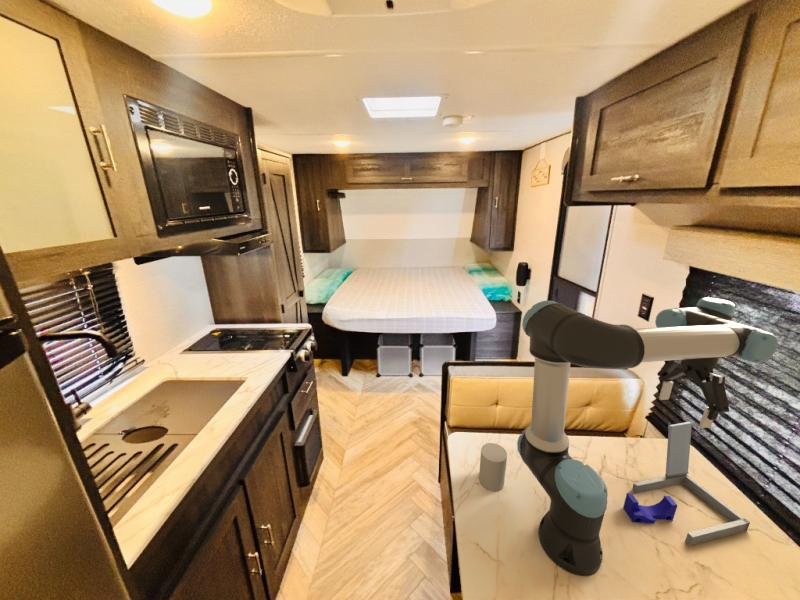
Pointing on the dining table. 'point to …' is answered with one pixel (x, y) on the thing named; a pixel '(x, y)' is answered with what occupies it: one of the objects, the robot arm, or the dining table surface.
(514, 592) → the dining table surface
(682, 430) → the cover
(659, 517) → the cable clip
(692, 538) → the gray u-shaped frame
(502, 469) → the gray solid cylinder
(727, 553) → the dining table surface
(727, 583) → the dining table surface
